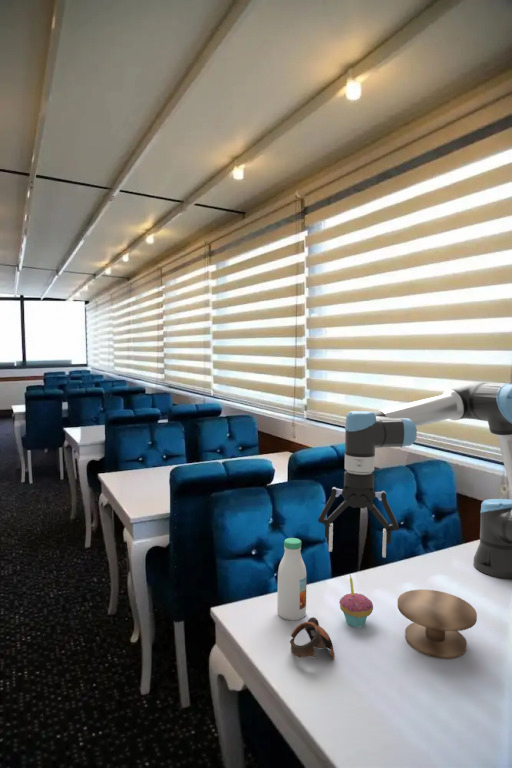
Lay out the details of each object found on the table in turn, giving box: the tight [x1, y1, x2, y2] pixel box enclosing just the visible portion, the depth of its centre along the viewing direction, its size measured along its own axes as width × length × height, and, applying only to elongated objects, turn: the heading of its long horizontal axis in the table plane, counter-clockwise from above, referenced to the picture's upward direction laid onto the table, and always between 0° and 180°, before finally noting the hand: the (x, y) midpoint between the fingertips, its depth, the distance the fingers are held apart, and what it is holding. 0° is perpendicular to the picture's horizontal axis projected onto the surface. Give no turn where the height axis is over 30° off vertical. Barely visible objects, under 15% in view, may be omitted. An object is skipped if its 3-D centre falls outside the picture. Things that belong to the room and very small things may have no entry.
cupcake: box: [339, 574, 374, 628], centre depth 125 cm, size 9×8×12 cm
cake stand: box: [397, 588, 478, 660], centre depth 117 cm, size 18×18×9 cm
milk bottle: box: [276, 537, 307, 621], centre depth 129 cm, size 8×8×20 cm
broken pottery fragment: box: [289, 616, 336, 661], centre depth 112 cm, size 12×10×8 cm
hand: (356, 552), depth 124 cm, fingers open, 13 cm apart
